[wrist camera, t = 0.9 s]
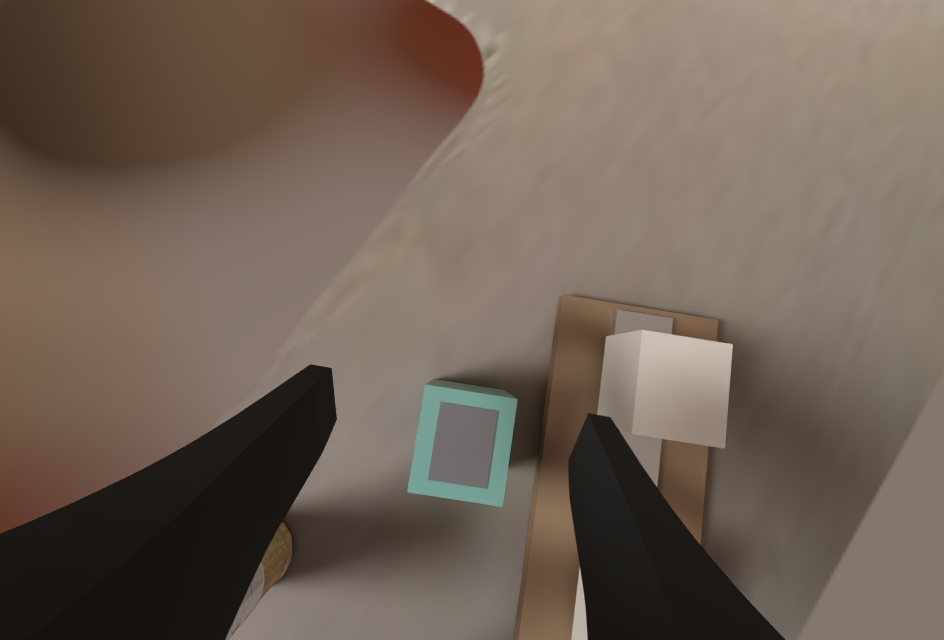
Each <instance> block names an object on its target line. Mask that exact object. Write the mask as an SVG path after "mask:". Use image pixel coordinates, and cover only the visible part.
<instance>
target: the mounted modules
mask: <svg viewBox="0 0 944 640" xmlns="http://www.w3.org/2000/svg"><path fill="white" fill-rule="evenodd" d="M732 347H733V344H728V343H722V342H715V341H709V340H703V339H697V338H691V337H684V336H678V335H672V334H666V333H660V332H653V331H647V330H638V331H633V332H627V333H621V334H616V335H610V336H606V342H605V350H604V359H603V368H602V376H601V385H600V394H599V402H598V411H597V415H602V416H608V417H611V419H612V420H613V422H614V423H615V425H616V426H617V428H619V429H621V430H623V431H626V432H628V433H630V434H635V435H641V436H647V437H654V438H660V439H666V440H673V441H679V442H685V443H692V444H698V445H705V446H711V447H717V448H724V449H725V442H726V429H727V415H728V401H729V388H730V374H731V361H732ZM571 640H588V637H587V622H586V608H585V600H584V591H583V584H582V577H581V571H580V568H579V577H578V585H577V594H576V603H575V612H574V620H573V629H572V638H571Z"/></svg>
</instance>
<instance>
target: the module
mask: <svg viewBox="0 0 944 640" xmlns="http://www.w3.org/2000/svg"><path fill="white" fill-rule="evenodd" d="M517 401H518V399H517V398H515V397H514V396H512V395H511V394H509V393H508V392H506V391H504V390H501V389H495V388H489V387H482V386H476V385H470V384H463V383H457V382H451V381H444V380H438V379H433V380H432V381H430V382H429V383H427V384H425V390H424V396H423V402H422V408H421V414H420V419H419V425H418V431H417V437H416V443H415V449H414V455H413V460H412V466H411V472H410V478H409V484H408V490H407V492H409V493H416V494H422V495H429V496H435V497H442V498H448V499H455V500H461V501H468V502H474V503H481V504H487V505H494V506H500V507H503V500H504V493H505V486H506V479H507V472H508V465H509V457H510V450H511V443H512V436H513V429H514V422H515V415H516V408H517Z"/></svg>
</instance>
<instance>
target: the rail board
mask: <svg viewBox="0 0 944 640" xmlns="http://www.w3.org/2000/svg"><path fill="white" fill-rule="evenodd" d="M617 309H618V310H624V311H630V312H637V313H643V314H649V315H655V316H661V317H668V318H673V325H672V335H678V336H684V337H691V338H697V339H703V340H709V341H715V342H717V333H718V320H716V319H710V318H704V317H698V316H691V315H685V314H679V313H673V312H667V311H661V310H654V309H648V308H642V307H636V306H630V305H623V304H617V303H611V302H605V301H599V300H593V299H586V298H580V297H574V296H568V295H563V296H561V297H559V299H558V306H557V314H556V321H555V329H554V337H553V344H552V352H551V359H550V367H549V374H548V382H547V390H546V397H545V405H544V412H543V420H542V428H541V435H540V443H539V450H538V458H537V466H536V473H535V481H534V488H533V496H532V503H531V511H530V519H529V526H528V534H527V541H526V549H525V557H524V564H523V572H522V579H521V587H520V595H519V602H518V610H517V617H516V625H515V633H514V640H571V638H572V629H573V620H574V612H575V603H576V594H577V585H578V577H579V568H580V564H579V558H578V552H577V545H576V539H575V532H574V526H573V519H572V512H571V505H570V498H569V477H568V460H569V457H570V455H571V452H572V450H573V448H574V445H575V443H576V441H577V438H578V436H579V433H580V431H581V429H582V426H583V424H584V421H585V419H586V417H587V414H588V413H591V414H596V415H597V411H598V402H599V394H600V385H601V376H602V368H603V359H604V350H605V342H606V336H610V335H611V327H612V318H613V311H614V310H617ZM708 447H709V446H705V445H698V444H692V443H685V442H679V441H673V440H666V439H662V442H661V453H660V464H659V474H658V485H657V488H658V489H659V491H660V492H661V494H662V495H663V496H664V498H665V499H666V501H667V502H668V503H669V505H670V506H671V508H672V509H673V510H674V512H675V513H676V514H677V516H678V517H679V518H680V519H681V521H682V522H683V523H684V525H685V526H686V527H687V529H688V530H689V531H690V533H691V534H692V535H693V536H694V538H695V539H696V540H697V541H698V543H699V544H700V545H701V536H702V523H703V510H704V498H705V485H706V472H707V460H708Z"/></svg>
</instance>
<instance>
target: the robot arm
mask: <svg viewBox="0 0 944 640" xmlns="http://www.w3.org/2000/svg"><path fill="white" fill-rule="evenodd" d="M336 420H337V416H336V407H335V397H334V387H333V377H332V368H328V367H322V366H316V365H311V364H310V365H309V366H307V367H306V368H304V369H303V370H301V371H300V372H299V373H297V374H296V375H294V376H293V377H291V378H290V379H288V380H287V381H285V382H284V383H283V384H281V385H280V386H278V387H277V388H275V389H274V390H272V391H271V392H270V393H268V394H267V395H265V396H264V397H262V398H261V399H259V400H258V401H256V402H255V403H253V404H252V405H250V406H249V407H247V408H246V409H244V410H243V411H241V412H240V413H238V414H237V415H235V416H234V417H232V418H231V419H229V420H227V421H226V422H224V423H222V424H221V425H219V426H218V427H216V428H214V429H213V430H211V431H210V432H208V433H206V434H205V435H203V436H201V437H200V438H198V439H197V440H195V441H193V442H191V443H190V444H188V445H186V446H185V447H183V448H181V449H179V450H177V451H176V452H174V453H172V454H170V455H168V456H167V457H165V458H163V459H161V460H159V461H158V462H155V463H153V464H151V465H150V466H148V467H146V468H144V469H142V470H140V471H138V472H136V473H134V474H132V475H130V476H128V477H126V478H124V479H122V480H120V481H118V482H116V483H113V484H112V485H109V486H107V487H105V488H103V489H101V490H99V491H97V492H95V493H92V494H91V495H88V496H86V497H84V498H82V499H80V500H78V501H76V502H74V503H71V504H69V505H67V506H65V507H63V508H60V509H58V510H55V511H53V512H51V513H49V514H46V515H44V516H42V517H39V518H37V519H35V520H33V521H30V522H28V523H25V524H23V525H20V526H18V527H16V528H13V529H11V530H8V531H6V532H4V533H1V534H0V640H226V637H227V635H228V633H229V630H230V628H231V626H232V624H233V622H234V619H235V617H236V615H237V613H238V610H239V608H240V606H241V604H242V602H243V599H244V597H245V595H246V593H247V590H248V588H249V586H250V584H251V582H252V580H253V578H254V576H255V574H256V571H257V569H258V567H259V565H260V563H261V561H262V559H263V557H264V555H265V552H266V550H267V548H268V546H269V545H270V543H271V541H272V539H273V537H274V535H275V533H276V531H277V530H278V528H279V526H280V525H281V523H282V521H283V519H284V518H285V516H286V514H287V513H288V511H289V509H290V507H291V506H292V504H293V502H294V501H295V499H296V497H297V496H298V494H299V492H300V490H301V489H302V487H303V485H304V484H305V482H306V480H307V478H308V477H309V475H310V473H311V472H312V470H313V468H314V466H315V465H316V463H317V461H318V459H319V458H320V456H321V454H322V452H323V450H324V448H325V446H326V443H327V441H328V439H329V437H330V434H331V432H332V429H333V427H334V425H335V422H336ZM568 477H569V498H570V505H571V512H572V519H573V526H574V532H575V539H576V545H577V552H578V558H579V564H580V571H581V577H582V584H583V591H584V600H585V608H586V622H587V637H588V640H785V639H784V638H783V637H782V636H781V635H780V634H779V633H778V632H777V631H776V630H775V628H774V627H773V626H772V625H771V624H770V623H769V622H768V621H767V620H766V619H765V618H764V617H763V616H762V615H761V614H760V613H759V612H758V610H757V609H756V608H755V607H754V606H753V605H752V604H751V603H750V602H749V601H748V600H747V599H746V597H745V596H744V595H743V594H742V593H741V592H740V591H739V590H738V589H737V587H736V586H735V585H734V584H733V583H732V582H731V581H730V579H729V578H728V577H727V576H726V575H725V574H724V572H723V571H722V570H721V569H720V568H719V567H718V565H717V564H716V563H715V562H714V561H713V560H712V558H711V557H710V556H709V555H708V554H707V553H706V551H705V550H704V549H703V548H702V546H701V545H700V544H699V543H698V541H697V540H696V539H695V538H694V536H693V535H692V534H691V533H690V531H689V530H688V529H687V527H686V526H685V525H684V523H683V522H682V521H681V519H680V518H679V517H678V516H677V514H676V513H675V512H674V510H673V509H672V508H671V506H670V505H669V503H668V502H667V501H666V499H665V498H664V496H663V495H662V494H661V492H660V491H659V489H658V488H657V486H656V485H655V484H654V482H653V481H652V479H651V478H650V476H649V475H648V473H647V472H646V471H645V469H644V468H643V466H642V465H641V463H640V462H639V460H638V459H637V457H636V455H635V454H634V452H633V451H632V449H631V448H630V446H629V445H628V443H627V442H626V440H625V439H624V437H623V435H622V434H621V432H620V431H619V429H618V428H617V426H616V425H615V423H614V422H613V420H612V419H611V417H608V416H602V415H596V414H591V413H588V414H587V417H586V419H585V421H584V424H583V426H582V429H581V431H580V433H579V436H578V438H577V441H576V443H575V445H574V448H573V450H572V452H571V455H570V457H569V460H568Z"/></svg>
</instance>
